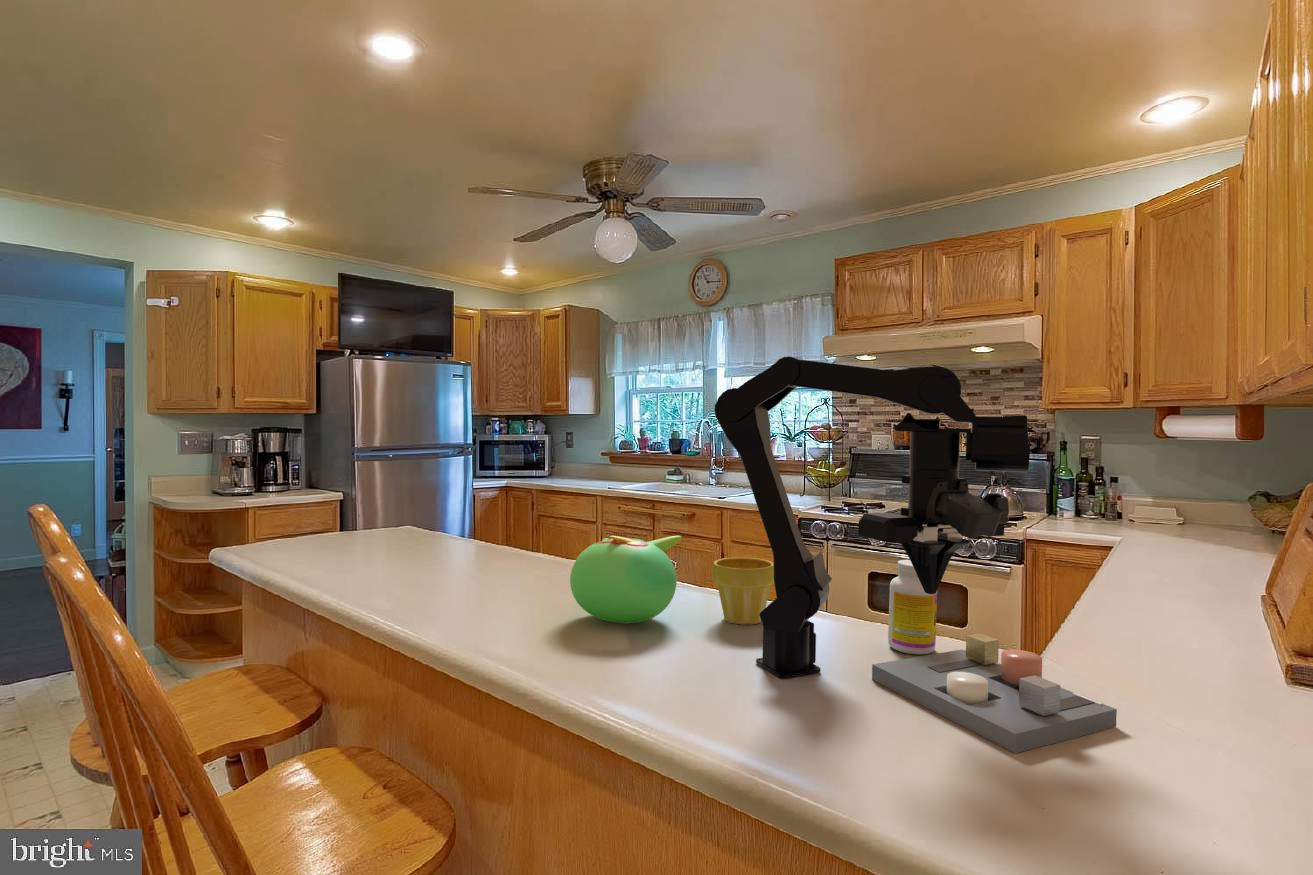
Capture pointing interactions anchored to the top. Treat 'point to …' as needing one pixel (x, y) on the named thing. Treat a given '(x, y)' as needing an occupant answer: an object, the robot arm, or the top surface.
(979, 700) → the button ivory
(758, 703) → the top surface
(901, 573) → the supplement bottle
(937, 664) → the panel
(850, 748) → the top surface
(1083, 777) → the top surface
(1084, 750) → the top surface
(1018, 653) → the button rust
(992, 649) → the brushed gold cube
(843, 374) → the robot arm
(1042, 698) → the lever grey
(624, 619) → the toy bird
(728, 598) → the plant pot
